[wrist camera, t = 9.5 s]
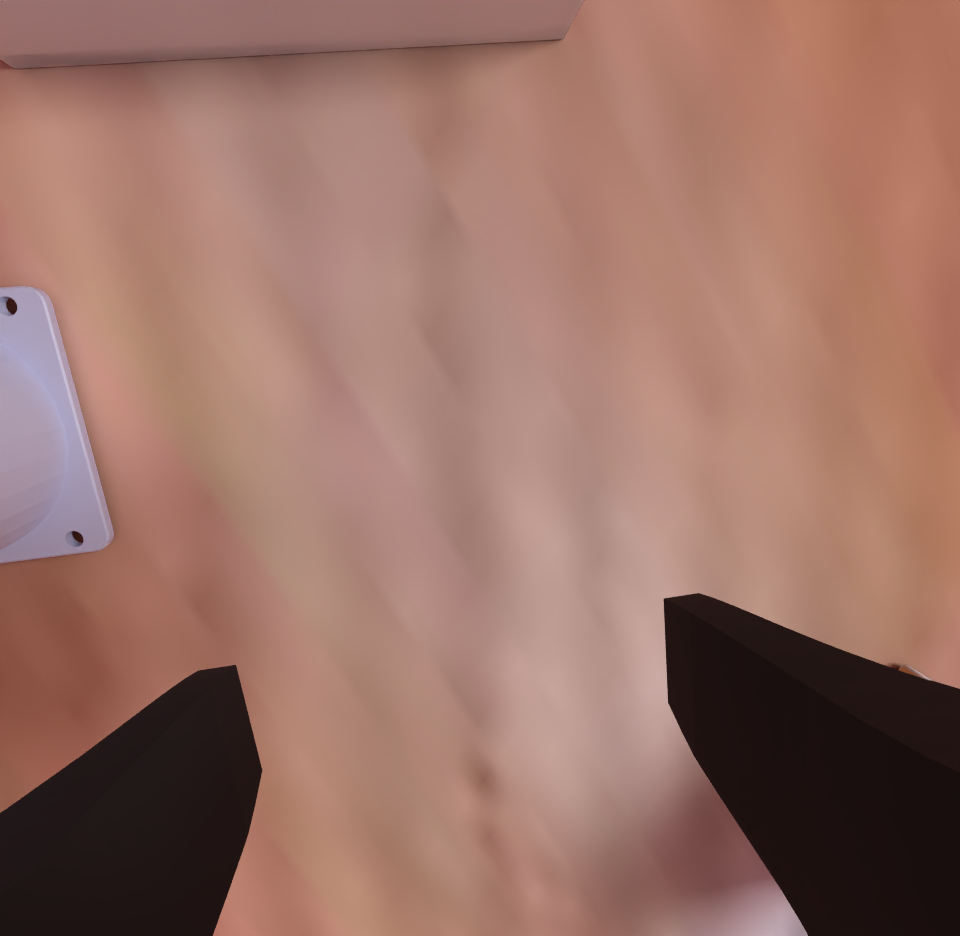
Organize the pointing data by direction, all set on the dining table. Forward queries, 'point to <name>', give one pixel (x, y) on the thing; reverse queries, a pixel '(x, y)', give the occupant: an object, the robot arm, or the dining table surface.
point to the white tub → (260, 27)
